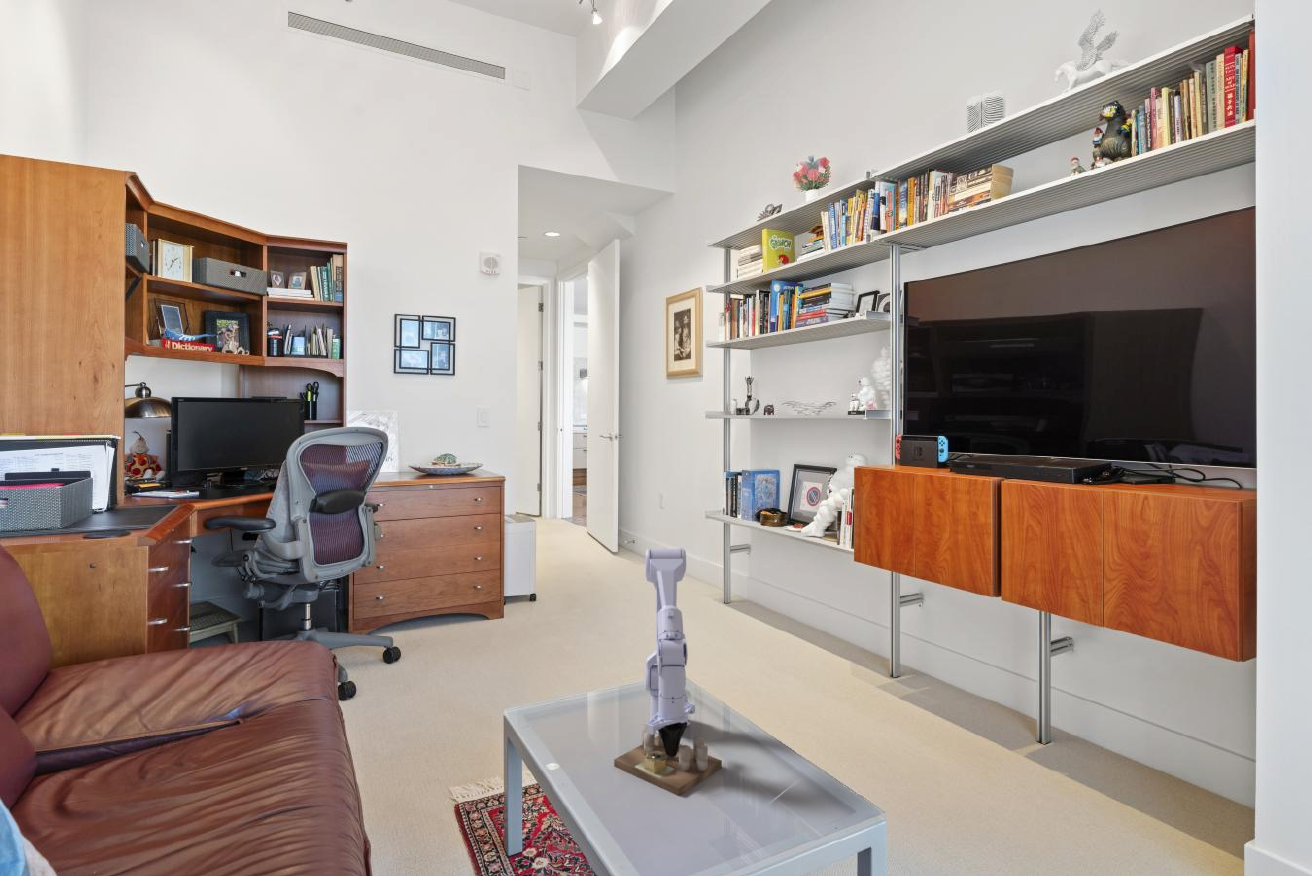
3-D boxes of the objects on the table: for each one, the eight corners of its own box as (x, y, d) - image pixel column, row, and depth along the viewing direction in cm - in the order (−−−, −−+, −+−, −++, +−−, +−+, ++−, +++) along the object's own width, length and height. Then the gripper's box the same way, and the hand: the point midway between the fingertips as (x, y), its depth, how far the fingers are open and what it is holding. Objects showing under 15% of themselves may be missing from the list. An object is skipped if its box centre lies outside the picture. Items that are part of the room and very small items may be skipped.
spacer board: (658, 741, 164) (658, 716, 163) (721, 767, 152) (721, 740, 152) (614, 766, 152) (614, 739, 152) (678, 795, 141) (678, 766, 140)
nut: (653, 759, 152) (653, 748, 152) (671, 767, 149) (671, 756, 149) (640, 767, 149) (640, 756, 149) (658, 775, 145) (658, 764, 145)
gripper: (664, 709, 144) (663, 774, 145) (706, 688, 155) (705, 748, 156) (638, 700, 149) (638, 762, 149) (681, 680, 160) (680, 739, 160)
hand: (671, 755), depth 153 cm, fingers closed
